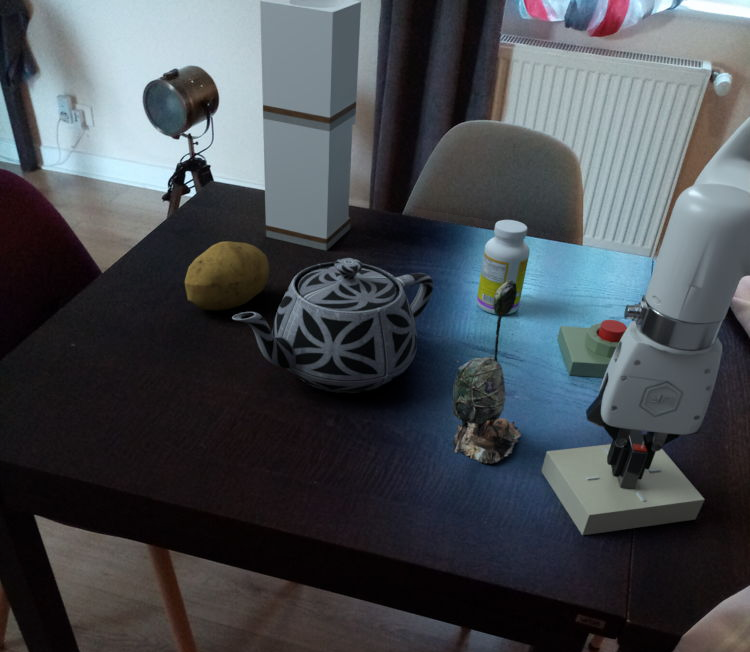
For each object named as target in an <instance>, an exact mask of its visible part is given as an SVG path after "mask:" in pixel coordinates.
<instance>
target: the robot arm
mask: <svg viewBox="0 0 750 652" xmlns="http://www.w3.org/2000/svg"><path fill="white" fill-rule="evenodd" d="M656 257H657V258H656V261H655V264H654V267H653V270H652V273H651V276H650V279H649V282H648V286H647V289H646V291H645V294H643V295H642V298H641V300H639V303H638V304H637V303H635V304H634V305H633V304H627V305H626V306H625V309H624V313H623V317H624V319H625V320H631V322H630V323H629V324H628V326H627V329H626V331H625V333H624V334H623V336H622V338H621V340H620V342H619V344H618V346H617V347H616V350H615V352H614V354H613V356H612V358H611V360H610V363H609V365H608V368H607V370H606V373H605V375H604V377H602V380H601V381H602V382H601V384H600V386H599V391H598V396H596V397H595V399H594V400H593V401H592V402H591V404H590V405H589V406H588V407H587V409H586V410H585V415H586V420H587V421H588V422H589V423H591V424H594V425H596V426H598V427H601V428H604V430H605V431H606V433H607V434H608V435H609V437H611V440H612V441H611V443H610V444H611V446H610V449H609V452H608V455H607V463H608V465H611V468H612V473H613V476H614V477H619V476H621V473H622V470H623V468H624V465H625V462H626V459H627V456H628V454H629V445H628V442H629V440H628V439H629V436H630V432H631V429H633V430H641V431H642V432H646V433H644V434H643V433H642V435H643V438H644V442H645V446H646V449H647V453H648V454H647V457H646V459H645V462H644V465H643V467H642V470H641V473H640V475H639V478H638V479H640V480H641V479H642V476H643V474H644V471H645V469H649V468H650V466H651V463H652V460H653V458H654V455H655V453H656V451H660V450H661V449H663V448H664V445H667V444H669V443H670V442H673V441H675V440H676V439H679V437H680V436H681V437H685V436H692V435H697V434H699V433H701V431H702V424H703V421H704V420H705V419H704V418H705V416H706V413H707V412H708V408H709V406H710V405H709V404H710V402H711V398H712V395H713V392H714V388H715V385H716V381H717V377H718V373H719V369H720V365H721V359H722V354H723V344H722V342H721V340H720V338H719V337H718V336H719V334H720V331H721V329H722V326H723V324H724V322H725V319H726V316H727V314H728V311H729V308H730V306H731V304H732V301H733V299H734V296H735V294H736V291H737V289H738V287H739V284H740V281H741V280H742V279H743V278H744V277H750V116H748V117H747V118H746V119H745V120H744V121H743V122H742V123H741V125H739V126H738V128H737V129H736V130H735V131H734V132H733V133H732V134H731V135H730V136H729V138H728V139H726V141H725V142H724V143H723V145H721V147H720V148H719V149H718V150H717V151H716V153H715V154H714V155H713V156H712V157H711V158H710V160H709V161H708V163H707V164H705V166H704V167H703V169H702V170H701V172H700V173H699V175H698V176H697V177H696V179H695V181H694V184H693V185H690V186H689V187H687V188H686V189H684V190H683V191H682V192H681V193H680V194H679V196H678V197H677V199H676V200H675V203H674V205H673V208H672V211H671V213H670V218H669V220H668V224H667V227H666V230H665V232H664V236H663V239H662V242H661V245H660V248H659V251H658V255H657V256H656Z"/></svg>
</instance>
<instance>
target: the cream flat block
mask: <svg viewBox="0 0 750 652" xmlns="http://www.w3.org/2000/svg"><path fill="white" fill-rule="evenodd" d="M610 446H611V443H607V444H600V445H592V446H581V447H572V448H564V449H563V448H562V449H554V450H546V452H545V456H544V459H543V463H542V467H541V473H542V475H543V476H544V478H545V480H546V481H547V482H548V484H549V485H550V487H551V489H552V490H553V492H554V493H555V495H556V497H557V498H558V500H559V502H560V503H561V505H562V506H563V508H564V509H565V511H566V512H567V514H568V515H569V517H570V519H571V520H572V522H573V523H574V525H575V526H576V528H577V529H578V531H579V533H580V534H581V536H588V535H594V534H601V533H603V534H604V533H609V532H615V531H623V530H630V529H637V528H645V527H652V526H659V525H665V524H674V523H679V522H687V521H693V520H694V521H695V520H697V517H698V515H699V513H700V510H701V509H702V506H703V504H704V502H705V498H704V497H703V495H702V494H701V493H700V492H699V491H698V490H697V488H696V487H695V486H694V484H692V482H691V481H690V480H689V479H688V478H687V477H686V475H685V474H684V473H683V472H682V470H680V468H679V467H678V466H677V464H675V462H674V461H673V460H672V459H671V457H670V456H669V455H668V454H667V453H666V452H665V450H664V449H663V448H662V449H661V450H660V451H656V453H655V455H654V458H653V460H652V463H651V466H650V468H649V469H645V471H644V474H643V476H642V479H641V480H640V479H638V480H637V483H636V486H635V488H634V489H628V488H620V485H619V481H618V477H614V476H613V473H612V468H611V465H608V463H607V455H608V452H609V449H610Z"/></svg>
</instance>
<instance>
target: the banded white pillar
mask: <svg viewBox="0 0 750 652" xmlns="http://www.w3.org/2000/svg"><path fill="white" fill-rule="evenodd" d="M259 9H260V11H259V12H260V45H261V50H260V51H261V86H262V87H261V88H262V91H261V92H262V125H263V126H262V128H263V129H262V131H263V132H262V133H263V167H264V168H263V170H264V206H265V207H264V208H265V211H264V212H265V237H267V238H270V239H274V240H279V241H283V242H286V243H287V242H288V243H292V244H296V245H299V246H304V247H305V246H306V247H309V248H312V249H318V250H321V251H325V252H327V251H328V250H329V249H330V248H331V247H332V246H333V245H334V244H335V243H337V242H338V241H339V240H340V239H341V238H342V237H343V236H344V235H345V234H346V233H348V231H350V230H351V223H352V222H351V219H352V218H351V217H350V216H349V212H350V189H351V171H352V170H351V167H352V147H353V146H352V144H353V126H354V125H355V124H356V118H357V117H356V115H357V96H358V94H357V93H358V78H359V77H358V76H359V75H358V74H359V56H360V35H361V33H360V32H361V14H362V13H361V11H362V1H361V0H289V3H285V2H280V1H279V2H278V1H272V0H259Z"/></svg>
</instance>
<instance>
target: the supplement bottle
mask: <svg viewBox="0 0 750 652" xmlns="http://www.w3.org/2000/svg"><path fill="white" fill-rule="evenodd" d="M527 232H528V226H527V225H526V224H525V223H523V222H521V221H518V220H514V219H502V220H498V221H496V223H495V224H494V230H493V233H494V237H491V238H490V239H488V240H487V242H486V243H485V245H484V250H483V258H482V264H481V270H480V277H479V283H478V290H477V295H476V304H477V306H478V307H479V308H480V309H481V310H482V311H483V312H485V313H489V314H492V315H496V314H495V310H494V306H493V301H494V297H495V294H496V291H497V290H498V289H499V288H500V287H501V286H502V285H503V284H504V283H506V282H508V280H510V281H513V282H515V283H516V290H517V295H516V300H515V302H514V306H513V308H512V309H511V311H510V312H509V313H508V314H507V315H510V314H512V313H515V312H517V310H518V309H519V308H520V307H519V306H520V302H521V298H522V292H523V288H524V283H525V278H526V273H527V267H528V263H529V257H530V246H529V245H528V243H527V242H525V240H526V239H525V238H526V237H527V234H528V233H527Z"/></svg>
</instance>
